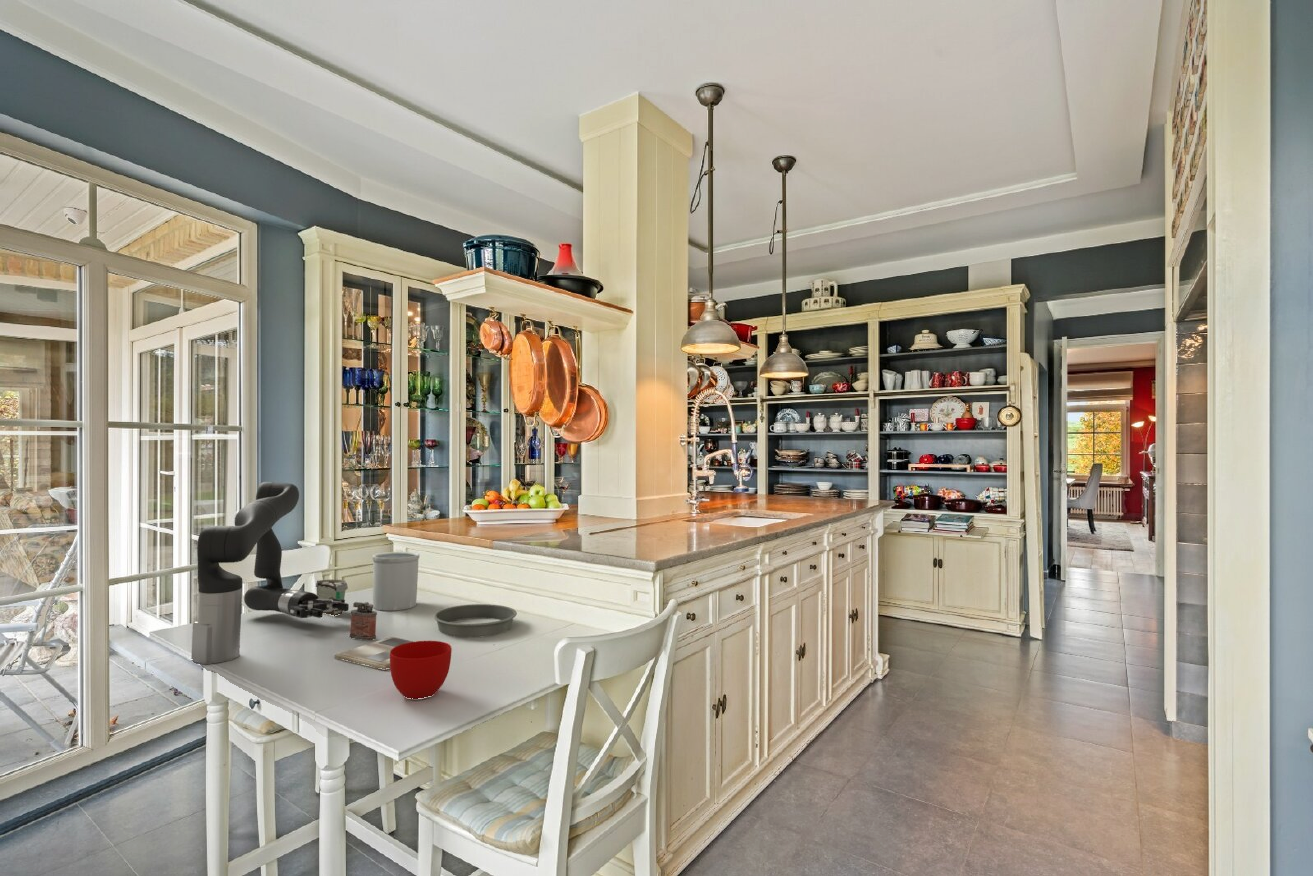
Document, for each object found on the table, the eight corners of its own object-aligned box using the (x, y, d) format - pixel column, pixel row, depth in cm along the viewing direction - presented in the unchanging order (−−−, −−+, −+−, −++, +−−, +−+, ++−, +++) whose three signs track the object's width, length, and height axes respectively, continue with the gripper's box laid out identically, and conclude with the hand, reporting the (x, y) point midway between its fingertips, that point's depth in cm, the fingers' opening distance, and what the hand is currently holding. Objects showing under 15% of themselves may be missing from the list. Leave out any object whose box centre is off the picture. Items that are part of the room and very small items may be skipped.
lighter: (378, 637, 182) (380, 602, 182) (370, 641, 178) (371, 605, 179) (355, 634, 184) (356, 600, 184) (346, 638, 181) (347, 602, 181)
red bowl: (434, 674, 154) (435, 633, 154) (458, 698, 141) (460, 652, 141) (377, 685, 146) (378, 641, 147) (397, 711, 133) (398, 662, 133)
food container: (354, 613, 206) (356, 582, 206) (336, 617, 201) (337, 585, 201) (332, 607, 213) (334, 577, 213) (314, 611, 208) (316, 580, 208)
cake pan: (532, 629, 196) (532, 614, 196) (459, 645, 178) (459, 629, 178) (488, 613, 213) (489, 599, 213) (418, 626, 195) (418, 611, 195)
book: (384, 671, 156) (384, 665, 156) (334, 658, 164) (334, 653, 164) (439, 650, 172) (439, 646, 172) (391, 640, 180) (391, 635, 180)
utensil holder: (365, 604, 218) (367, 553, 218) (409, 598, 228) (410, 549, 228) (378, 613, 207) (380, 559, 207) (424, 607, 216) (426, 555, 217)
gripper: (276, 595, 187) (313, 602, 180) (320, 586, 200) (356, 593, 193) (275, 621, 187) (312, 629, 180) (319, 610, 200) (355, 618, 193)
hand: (334, 610), depth 187 cm, fingers open, 8 cm apart
